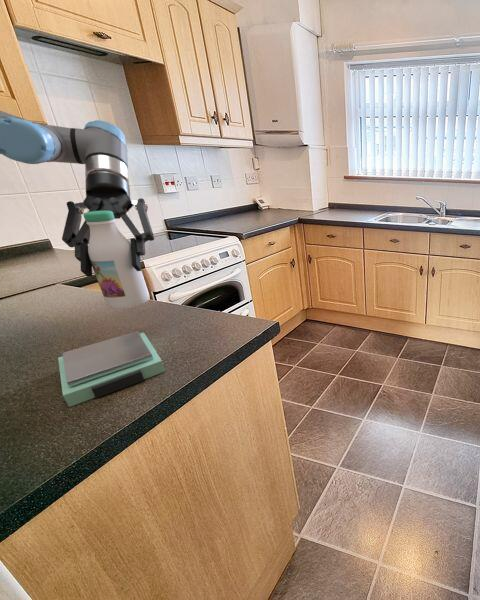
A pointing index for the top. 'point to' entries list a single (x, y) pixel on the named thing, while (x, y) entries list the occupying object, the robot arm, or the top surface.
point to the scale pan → (104, 357)
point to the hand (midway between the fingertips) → (112, 270)
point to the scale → (110, 378)
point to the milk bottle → (114, 262)
